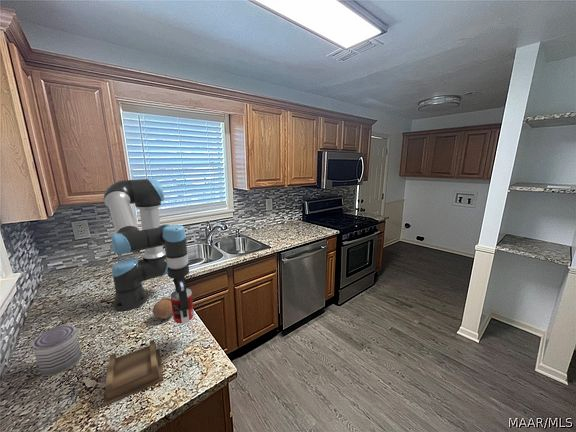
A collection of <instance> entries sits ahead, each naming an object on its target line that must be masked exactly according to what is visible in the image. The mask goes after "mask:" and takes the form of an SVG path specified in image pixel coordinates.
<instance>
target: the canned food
mask: <svg viewBox="0 0 576 432" xmlns="http://www.w3.org/2000/svg"><path fill="white" fill-rule="evenodd" d="M186 292H187V300H188V307H189V309H188V313H189V322H190V321H191V320H192V319H193V317H194V305H193V304H194V303H193V302H194V301H193V294H192V293H193V292H192V290H191V289H190V288H188V287H186ZM170 299H171V304H172V312H173V315H172V316H173V317H172V318H173V321H174V322H175V323H176V324H182V321H181V312H180V311H179V309H180V308H181V307H180V300H179V294H178V292H177V291H176V290H174V291H173V292H171V293H170Z"/></svg>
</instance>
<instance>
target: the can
mask: <svg viewBox="0 0 576 432" xmlns="http://www.w3.org/2000/svg"><path fill="white" fill-rule="evenodd" d="M77 329H78V328H77V327H76V326H74V325H73V324H72V323H71V324H70V323H69V324H62V325H56V326H54V327H52V328H50V329H48V330H45V331H44V332H42V333H40V334H38V335H37V336H36V338H35V339H33V340H32V341H31V343H30V344H29V345H30V346H31V347H32V350H33V352H34V357H35V360H36V363H37V367H38V371H39V373H40V375H41V376H42V377H52V376H55V375H57V374H60V373H63V372H66V371H67V370H69V369H70V368H72V367H73V366H74V365H76V364H77V363H79V361H80V359H81V358H82V356H83V355H82V350H81V345H80V342H79V341H80V340H79V338H78V334H77V333H78V332H77Z"/></svg>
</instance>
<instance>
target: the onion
mask: <svg viewBox="0 0 576 432" xmlns="http://www.w3.org/2000/svg"><path fill="white" fill-rule="evenodd" d="M152 314H153V316H154V317H156V318H157V319H159V320H162V321H163V320H167V319H169V318H171V317H172V316H173V312H172V304H171V297H167V296H166V297H164V298H162V299H160V300H158V301H157V302H155V304H154V306H153V308H152Z"/></svg>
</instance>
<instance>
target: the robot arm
mask: <svg viewBox="0 0 576 432" xmlns="http://www.w3.org/2000/svg"><path fill="white" fill-rule="evenodd" d="M164 200H165V194H164V190H163V187H162V184H161V183H160V181H159V180H157V179H156V178H155V179H153V178H145V179H144V178H143V179H123V180H118V181H116V182H114V183H112V184H111V185H109V187H107V189H106V190H105V192H104V195H103V202H104V205H105V206H106V208H108V209H109V213H110V216H111V219H112V220H111V221H112V223H113V227H114V231H115V234H112V235H111V237H110V239H111V246H112V249H113V253H114V254H115V255H122V254H130V253H134V252H138V251H144V253H143V254H142V259H139V258H137V257H128V258H126V259H122V260H119V261H117V262H116V263H114V265H112V266H111V276H112V278H113V284H114V289H115V296H114V301H113V308H114V310H116V311H119V312H121V311H122V312H123V311H124V312H125V311H129V310H134V309H136V308H138V306H139V307H141V306H142V305H144V304H145V303H146V302H147V301H148V300H149V296H148V293H147V291H146V289H145V288H144V286H143V282H145V281H149V280H151V279H156V278H159V277H163V276H166V275H167V276H168V278H170V279H173V283H174V287H175V288H174V289H175V291H177V292H178V294H179V300H180V307H181V308H180V309H179V311H180V312H181V321H182V323H181V325H185V324H188V323H190V321H189V313H188V309H189V307H188V300H187V292H186V288H187V279H186V278H185V277H186V276H188V275H189V274H190V266H189V255H188V247H187V237H186V236H187V233H186V229H185V227H184V226H183V225H182V224H171V225H170V224H161V220H160V219H161V218H160V212H159V211H160V210H159V208H160V207H161V206H162V202H163V201H164ZM130 204H133V205H135V206H134V207H135V208H136V209H138V210H139V215H140V216H139V217H140V222H141V223H140V224H141V230H140V228H139V225H138V223H137V221H136V217H135V215H134V213H133V210H132V208H131V205H130ZM147 299H148V300H147ZM140 305H141V306H140ZM133 308H134V309H133Z"/></svg>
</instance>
